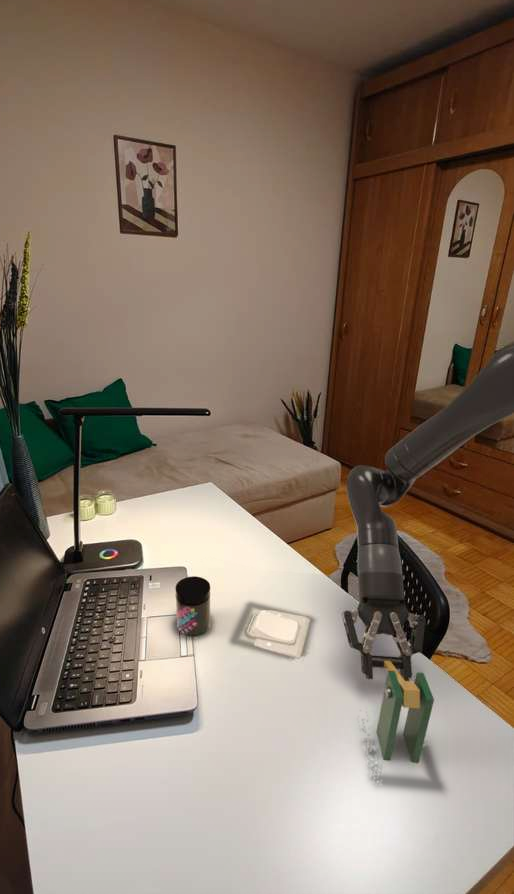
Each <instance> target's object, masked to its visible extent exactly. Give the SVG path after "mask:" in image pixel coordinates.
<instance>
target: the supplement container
mask: <svg viewBox="0 0 514 894" xmlns="http://www.w3.org/2000/svg"><path fill="white" fill-rule="evenodd" d="M175 607H176V612H175V613H176V629H177V630H178V632H179V633H180V634H181V635H183V636H185V637H189V638H196V637H200V636H202V635H204V634H207V632H208V631H209V630H210V628H211V584H210V582H209V581H208V580H207V579H206V578H204V577H201V576H196V575H195V576H192V575H191V576H187V577H183V578H182V579H180V580H179V581H178V582H177V583H176V585H175Z"/></svg>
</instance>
